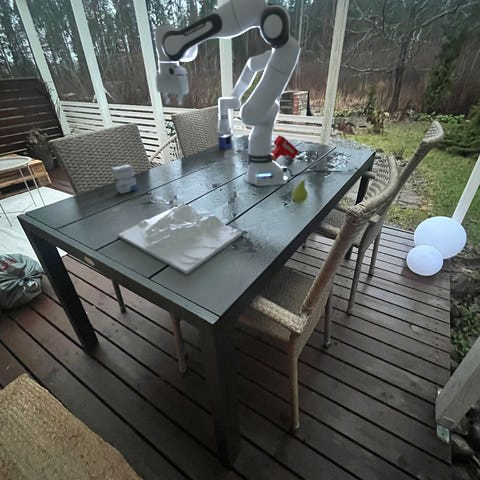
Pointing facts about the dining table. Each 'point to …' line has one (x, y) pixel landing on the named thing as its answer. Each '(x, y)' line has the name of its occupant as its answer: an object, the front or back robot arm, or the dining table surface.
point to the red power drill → (284, 148)
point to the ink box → (124, 178)
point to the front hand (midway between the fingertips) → (173, 103)
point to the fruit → (300, 192)
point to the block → (224, 142)
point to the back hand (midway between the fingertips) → (225, 143)
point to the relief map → (181, 237)
